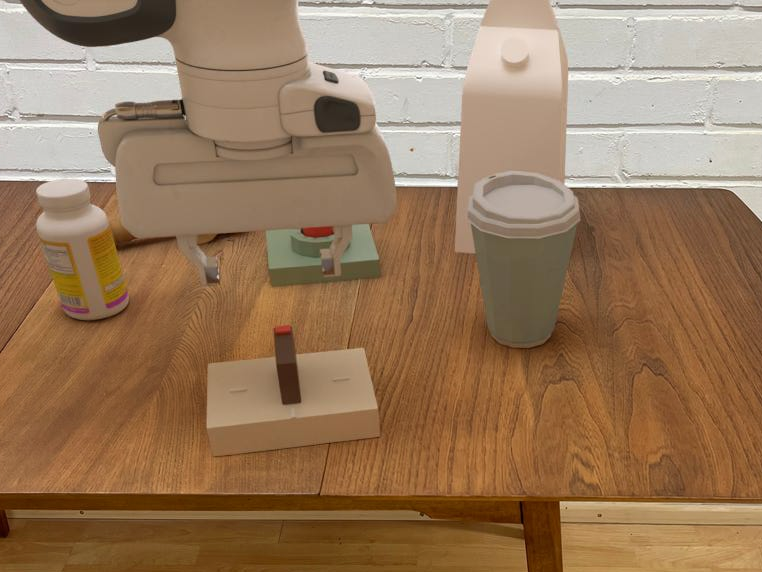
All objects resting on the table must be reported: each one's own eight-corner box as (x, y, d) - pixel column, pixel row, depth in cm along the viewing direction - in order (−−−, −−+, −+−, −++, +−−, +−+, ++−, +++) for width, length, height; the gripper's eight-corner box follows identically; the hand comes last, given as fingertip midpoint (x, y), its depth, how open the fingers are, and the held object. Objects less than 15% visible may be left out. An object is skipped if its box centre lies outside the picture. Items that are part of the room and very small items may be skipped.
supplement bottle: (128, 288, 97) (97, 170, 88) (133, 316, 92) (101, 195, 84) (62, 298, 95) (24, 179, 86) (64, 327, 90) (24, 204, 82)
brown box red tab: (301, 402, 75) (295, 359, 72) (282, 405, 75) (275, 361, 72) (297, 365, 79) (291, 323, 77) (279, 367, 79) (272, 325, 76)
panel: (212, 457, 74) (205, 427, 72) (213, 390, 82) (207, 361, 80) (380, 437, 76) (378, 407, 74) (366, 374, 84) (363, 345, 82)
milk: (563, 219, 112) (581, -12, 95) (556, 259, 103) (575, 12, 87) (469, 213, 113) (470, -17, 97) (454, 252, 104) (453, 6, 88)
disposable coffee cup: (592, 335, 90) (608, 191, 80) (517, 374, 84) (524, 223, 75) (518, 298, 96) (524, 159, 86) (443, 332, 90) (441, 187, 81)
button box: (271, 287, 97) (266, 253, 95) (267, 248, 105) (263, 215, 102) (380, 277, 99) (378, 244, 97) (369, 239, 107) (367, 207, 104)
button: (304, 240, 98) (302, 225, 97) (302, 227, 101) (300, 212, 100) (337, 238, 99) (335, 223, 98) (334, 224, 101) (332, 210, 100)
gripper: (85, 118, 58) (132, 307, 67) (397, 105, 62) (402, 286, 70) (95, 89, 63) (138, 270, 71) (384, 79, 66) (391, 252, 75)
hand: (271, 278), depth 71 cm, fingers open, 8 cm apart
